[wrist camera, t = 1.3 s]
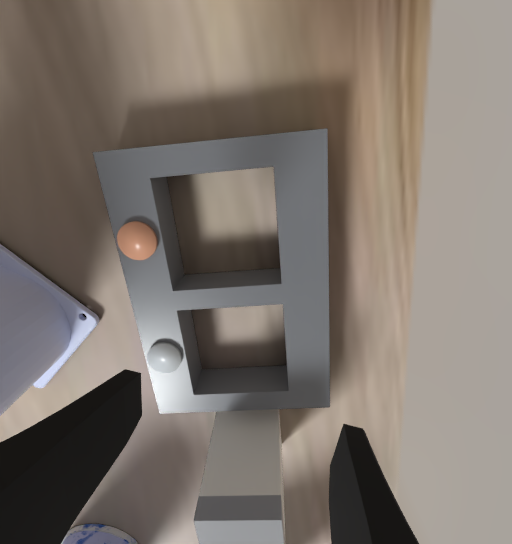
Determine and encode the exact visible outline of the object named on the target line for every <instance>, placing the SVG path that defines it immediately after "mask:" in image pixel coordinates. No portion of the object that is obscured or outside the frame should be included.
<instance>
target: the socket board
mask: <svg viewBox="0 0 512 544" xmlns="http://www.w3.org/2000/svg"><path fill="white" fill-rule="evenodd" d="M93 156H94V160H95V163H96V167H97V171H98V175H99V179H100V183H101V187H102V191H103V195H104V199H105V202H106V206H107V210H108V214H109V218H110V222H111V226H112V230H113V234H114V238H115V241H116V245H117V249H118V253H119V257H120V261H121V265H122V269H123V273H124V277H125V280H126V284H127V288H128V292H129V296H130V300H131V304H132V308H133V312H134V316H135V319H136V323H137V327H138V331H139V335H140V339H141V343H142V347H143V351H144V355H145V358H146V362H147V366H148V370H149V374H150V378H151V382H152V386H153V390H154V394H155V397H156V401H157V405H158V409H159V413H160V414H162V413H189V412H216V411H243V410H270V409H298V408H325V407H330V355H329V246H328V138H327V129H317V130H307V131H297V132H288V133H278V134H268V135H258V136H248V137H238V138H229V139H219V140H209V141H199V142H189V143H179V144H170V145H160V146H150V147H140V148H130V149H120V150H110V151H101V152H93ZM264 167H274V181H275V196H276V211H277V226H278V241H279V256H280V268H275V269H260V270H246V271H232V272H218V273H203V274H189V275H184V269H183V264H182V258H181V253H180V247H179V242H178V236H177V231H176V226H175V220H174V215H173V209H172V204H171V198H170V193H169V187H168V182H167V177H168V176H178V175H189V174H200V173H210V172H221V171H232V170H242V169H253V168H264ZM275 304H283V315H284V330H285V345H286V360H287V365H286V366H264V367H243V368H222V369H202V367H201V362H200V356H199V351H198V346H197V340H196V335H195V329H194V324H193V318H192V313H191V310H194V309H210V308H227V307H243V306H259V305H275Z"/></svg>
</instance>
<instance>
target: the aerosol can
mask: <svg viewBox="0 0 512 544" xmlns="http://www.w3.org/2000/svg"><path fill="white" fill-rule="evenodd" d="M61 544H138V543H137V542H136V540H135V539H134V538H132V537H131V536H130V535H128V534H127V533H125V532H123V531H121V530H119V529H116V528H114V527H111V526H106V525H102V524H84V525H80V526H76V527H74V528H72V529H70V530H69V531H68V532H67V534H66V536H65V537H64V539H63V541H62V543H61Z"/></svg>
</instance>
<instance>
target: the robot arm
mask: <svg viewBox="0 0 512 544" xmlns="http://www.w3.org/2000/svg"><path fill="white" fill-rule="evenodd" d="M82 313H83V314H85V315H86V317H87V318H86V317H84V316H83V315H82ZM98 323H99V317H98V316H97V315H96V314H95V313H94V312H92V311H91V310H89V309H88V308H87V307H85V306H84V305H83V304H81V303H80V302H79V301H77V300H76V299H74V298H73V297H72V296H70V295H69V294H68V293H66V292H65V291H64V290H62V289H61V288H60V287H58V286H57V285H55V284H54V283H53V282H51V281H50V280H49V279H47V278H46V277H45V276H43V275H42V274H40V273H39V272H38V271H36V270H35V269H34V268H32V267H31V266H30V265H28V264H27V263H26V262H24V261H23V260H21V259H20V258H19V257H17V256H16V255H15V254H13V253H12V252H11V251H9V250H8V249H6V248H5V247H4V246H2V245H1V244H0V416H1V415H2V414H3V413H4V412H5V411H6V410H7V409H8V408H9V407H10V406H11V405H12V404H13V403H14V402H15V401H16V400H17V399H18V398H19V397H20V396H21V395H22V394H23V393H24V392H25V391H27V390H28V389H29V388H30V387H31V386H32V385H33V386H35V387H37V388H43V387H45V386H46V385H47V384H48V382H49V381H50V380H51V379H52V378H53V376H54V375H55V374H56V373H57V372H58V371H59V369H60V368H61V367H62V366H63V365H64V363H65V362H66V361H67V360H68V359H69V358H70V356H71V355H72V354H73V353H74V352H75V351H76V349H77V348H78V347H79V346H80V345H81V343H82V342H83V341H84V340H85V339H86V338H87V336H88V335H89V334H90V333H91V332H92V331H93V329H94V328H95V327H96V326H97V325H98ZM141 416H142V400H141V373H138V372H134V371H130V370H126V369H125V370H123V371H122V372H120V373H118V374H117V375H115V376H114V377H112V378H111V379H109V380H107V381H106V382H104V383H103V384H101V385H100V386H98V387H96V388H95V389H93V390H92V391H90V392H89V393H87V394H85V395H84V396H82V397H81V398H79V399H77V400H76V401H74V402H72V403H71V404H69V405H68V406H66V407H64V408H63V409H61V410H59V411H58V412H56V413H54V414H52V415H51V416H49V417H47V418H45V419H44V420H42V421H40V422H38V423H37V424H35V425H33V426H31V427H30V428H28V429H26V430H24V431H22V432H20V433H18V434H16V435H14V436H13V437H11V438H9V439H7V440H5V441H3V442H0V544H61V543H62V541H63V539H64V537H65V536H66V534H67V532H68V531H69V529H70V527H71V525H72V524H73V522H74V521H75V519H76V518H77V516H78V514H79V513H80V511H81V510H82V508H83V507H84V505H85V504H86V503H87V501H88V500H89V498H90V497H91V495H92V494H93V492H94V491H95V489H96V488H97V487H98V485H99V484H100V482H101V481H102V479H103V478H104V476H105V475H106V473H107V472H108V471H109V469H110V468H111V466H112V465H113V463H114V462H115V460H116V459H117V457H118V456H119V454H120V453H121V451H122V450H123V448H124V447H125V445H126V444H127V442H128V440H129V439H130V437H131V435H132V433H133V431H134V429H135V428H136V426H137V424H138V422H139V420H140V418H141ZM329 510H330V526H331V541H332V544H419V543H418V541H417V539H416V537H415V535H414V534H413V532H412V530H411V528H410V526H409V525H408V523H407V521H406V519H405V517H404V515H403V513H402V511H401V509H400V507H399V505H398V503H397V501H396V499H395V497H394V495H393V493H392V491H391V489H390V487H389V485H388V483H387V481H386V479H385V477H384V475H383V473H382V470H381V468H380V466H379V464H378V462H377V459H376V457H375V455H374V453H373V450H372V448H371V446H370V443H369V441H368V438H367V436H366V433H365V431H364V430H363V429H362V428H358V427H354V426H350V425H346V424H343V427H342V431H341V434H340V437H339V440H338V443H337V446H336V449H335V452H334V455H333V458H332V462H331V465H330V481H329Z"/></svg>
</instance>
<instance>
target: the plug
mask: <svg viewBox="0 0 512 544" xmlns="http://www.w3.org/2000/svg"><path fill="white" fill-rule="evenodd" d="M194 525H195V529H196V533H197V537H198V541H199V544H286V541H285V515H284V488H283V462H282V440H281V428H280V416H279V409H270V410H243V411H217V412H216V417H215V422H214V427H213V431H212V436H211V441H210V446H209V450H208V455H207V460H206V465H205V469H204V474H203V479H202V484H201V488H200V493H199V498H198V503H197V507H196V512H195V517H194Z"/></svg>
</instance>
